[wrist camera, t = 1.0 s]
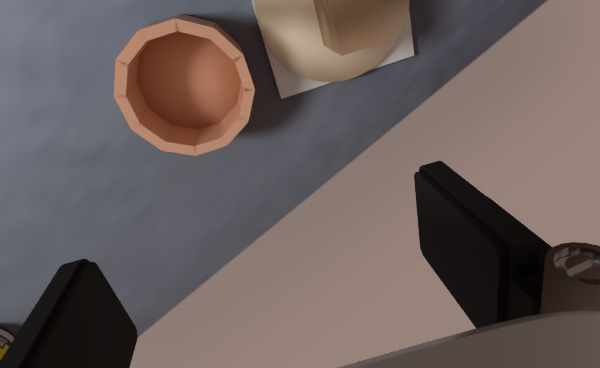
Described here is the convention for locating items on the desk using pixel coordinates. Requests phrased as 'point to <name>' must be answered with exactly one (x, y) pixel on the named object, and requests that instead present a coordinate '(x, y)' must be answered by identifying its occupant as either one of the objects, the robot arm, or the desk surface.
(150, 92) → the bowl
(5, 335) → the pill bottle
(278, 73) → the mat
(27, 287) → the desk surface
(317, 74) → the lid
